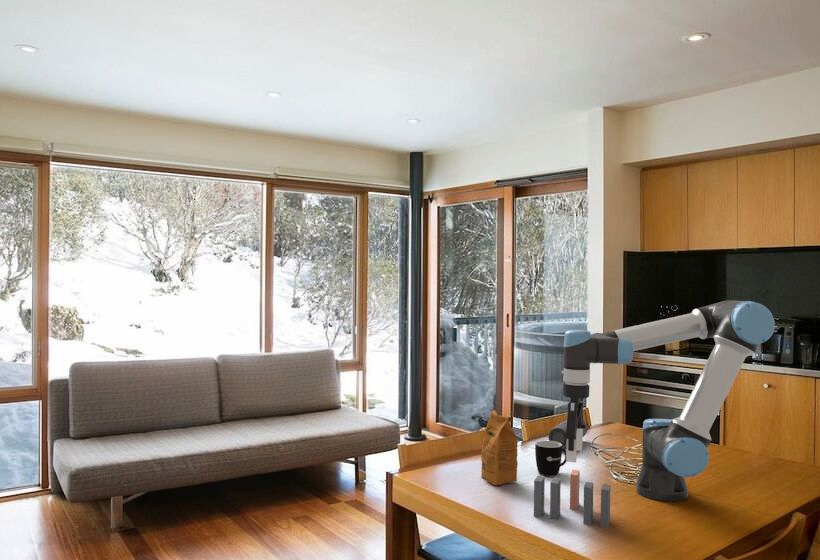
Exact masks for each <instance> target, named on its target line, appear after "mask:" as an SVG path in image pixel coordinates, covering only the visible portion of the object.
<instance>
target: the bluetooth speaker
mask: <svg viewBox="0 0 820 560" xmlns="http://www.w3.org/2000/svg"><path fill="white" fill-rule="evenodd" d="M583 422H584V424H583V425H585V428H581V429H583V438H584V437H585V436H586V434H587V432H588V430H589V429H588V424H587V422H586V421H585V420H584V419H583ZM566 428H567V419H566V420H564V421H562V422H560V423H559V424H557V425H555V426H554V427H553V428H551V429H550V431H549V433H548V441H555V442H558V443H561V444H562V448H564V449H565V450H566V442H567V439H565V438H564V435H566Z"/></svg>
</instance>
